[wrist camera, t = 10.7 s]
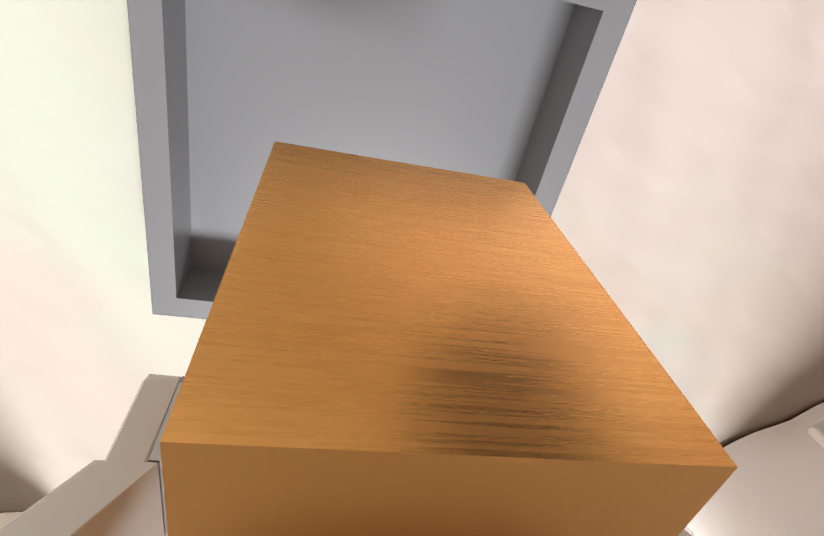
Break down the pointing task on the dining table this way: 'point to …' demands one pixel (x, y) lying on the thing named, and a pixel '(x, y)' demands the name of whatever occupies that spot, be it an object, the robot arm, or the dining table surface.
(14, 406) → the dining table surface
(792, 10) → the dining table surface
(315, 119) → the grey tray
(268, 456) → the wooden block
